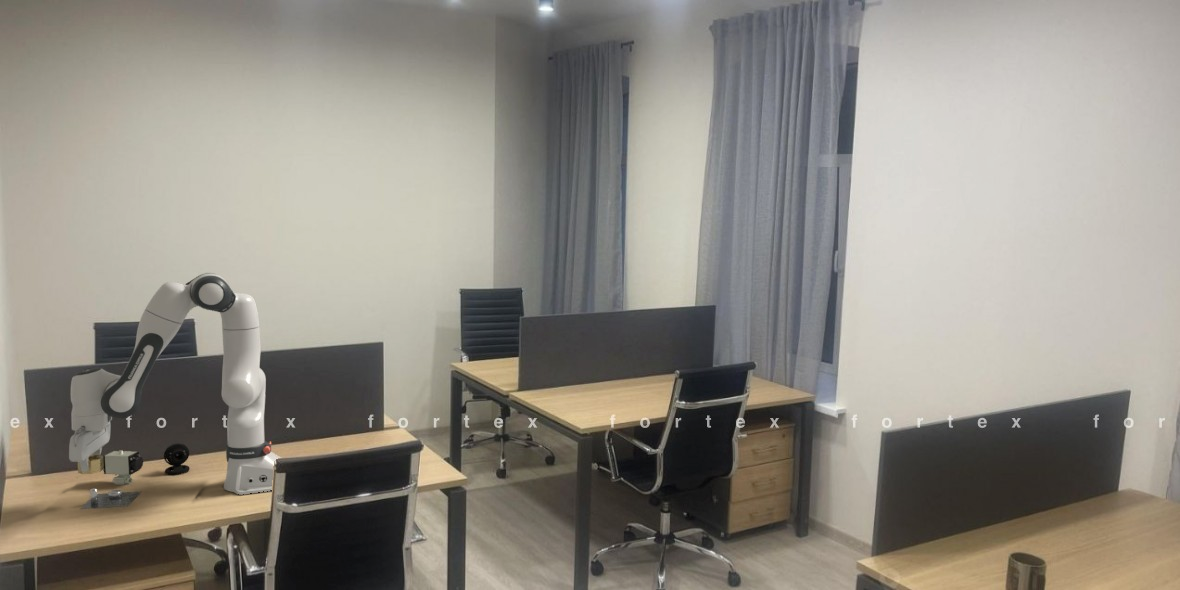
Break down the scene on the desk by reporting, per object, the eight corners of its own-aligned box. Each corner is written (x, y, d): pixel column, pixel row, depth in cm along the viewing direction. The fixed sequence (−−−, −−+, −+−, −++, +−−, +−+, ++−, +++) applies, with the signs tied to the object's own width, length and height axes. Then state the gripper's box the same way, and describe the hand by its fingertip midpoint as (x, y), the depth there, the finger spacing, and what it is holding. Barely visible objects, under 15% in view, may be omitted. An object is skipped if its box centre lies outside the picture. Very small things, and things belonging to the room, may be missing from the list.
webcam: (166, 477, 255) (165, 448, 253) (162, 471, 260) (161, 442, 259) (192, 472, 259) (191, 444, 258) (187, 466, 265) (186, 439, 264)
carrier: (142, 494, 239) (141, 478, 238) (127, 509, 227) (127, 492, 227) (96, 497, 236) (95, 480, 235) (79, 512, 224) (78, 494, 224)
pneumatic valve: (135, 489, 243) (134, 453, 242) (100, 487, 244) (98, 452, 242) (146, 482, 249) (144, 447, 248) (111, 481, 249) (109, 446, 248)
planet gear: (106, 466, 231) (105, 454, 231) (98, 473, 225) (97, 460, 225) (84, 467, 230) (83, 455, 229) (75, 474, 224) (74, 461, 223)
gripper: (86, 431, 216) (87, 478, 218) (114, 412, 236) (115, 455, 238) (61, 432, 215) (63, 479, 217) (91, 413, 235) (93, 456, 236)
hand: (90, 466), depth 227 cm, fingers closed on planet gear, 6 cm apart
